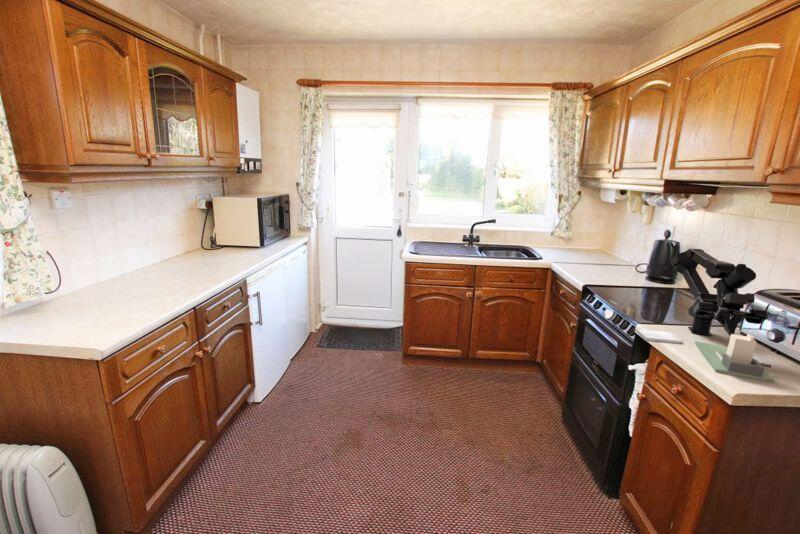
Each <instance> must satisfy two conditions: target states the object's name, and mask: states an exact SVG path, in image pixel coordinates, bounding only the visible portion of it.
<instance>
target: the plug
mask: <svg viewBox="0 0 800 534" xmlns="http://www.w3.org/2000/svg"><path fill="white" fill-rule="evenodd" d="M755 338H756V337H754V336H753V335H752V334H751V333H750V334H749V333H747V334H746V336H745V335H741V334H735V333H734V334H731V336H730V338H729V342H728V345H727V347H728V348H727V352H726V354H727V355H728V356H729V357H730V358H731V359H732V360H733V361H735V362H740V363H746V364H751V361H752V357H753V358H754V353H755V349H756V347H757V343H758V342H757V340H755ZM759 363H760V364H761V365H762V366H763V367H764V368H768V369H771V368H772V364H768V363H763V362H759Z"/></svg>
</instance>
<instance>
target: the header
mask: <svg viewBox="0 0 800 534" xmlns="http://www.w3.org/2000/svg"><path fill="white" fill-rule="evenodd" d="M721 363H722V364H723V365H724V366H725V368H726V369H727V370H728V371H731V372H737V373H742V374H748V375H753V376H758V377H762V375H763V372H764V369H765V367H763V366H762V365H761V364H760V363H761V362H759V361H758V360H757V359H756V358H754V359H752V361H751V364H746V363H740V362H735V361H733V360H732V359H731V358H730V357H729V356H728V355H727V354H723V358H722V362H721Z"/></svg>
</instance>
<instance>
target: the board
mask: <svg viewBox="0 0 800 534" xmlns="http://www.w3.org/2000/svg"><path fill="white" fill-rule="evenodd" d="M695 344H696V345H695ZM694 345H695V347H697V349H698V350H699V352H700V353H701V354H702V356H703V357H704V359H705V360H706V361H707V362H708V364H709V365H710V367H712V369H713V371H715V373H721V374H726V375H732V376H737V377H742V378H748V379H752V380H753V379H754V380H758V381H764V382H769V383H775V381H776V379H775V378H774V377H773V376H772V375H771V374H770V373H769V372H768V371H767V370H766V369H765V368H764V372H763V375H762V377H758V376H753V375H748V374H742V373H737V372H731V371H728V370H727V369H726V368H725V366H724V365H723V364H722V363H721V362H722V358H723V354H726V352H727V348H728V346H725V345H719V344H714V343H707V342H701V341H695V342H694ZM752 359H755V358H754V356H753V357H752Z"/></svg>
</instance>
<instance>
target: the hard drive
mask: <svg viewBox="0 0 800 534" xmlns="http://www.w3.org/2000/svg"><path fill="white" fill-rule="evenodd" d="M635 333H637V334H638V335H639V336H640V337H641V338H642V339H643V340H644V341H648V342H656V343H657V342H660V343H669V344H678V343H682V344H683V342H684V340H683V341H682V339H680V338H679V337H678V336H677V335H675V333H673V332H666V331H656V330H645V329H635Z"/></svg>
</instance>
